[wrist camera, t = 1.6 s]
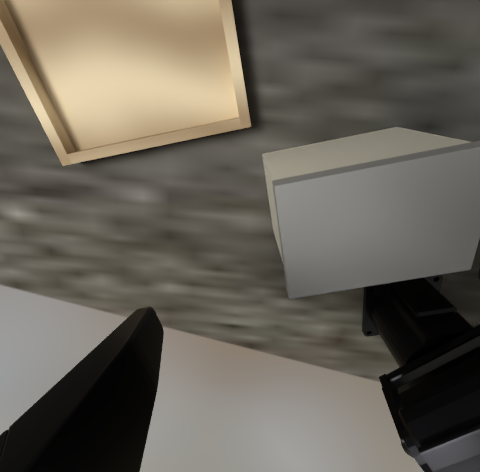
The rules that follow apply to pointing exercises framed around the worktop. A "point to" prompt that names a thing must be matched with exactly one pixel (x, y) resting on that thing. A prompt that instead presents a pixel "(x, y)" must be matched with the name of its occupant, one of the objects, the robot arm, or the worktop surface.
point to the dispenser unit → (374, 209)
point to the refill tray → (126, 71)
